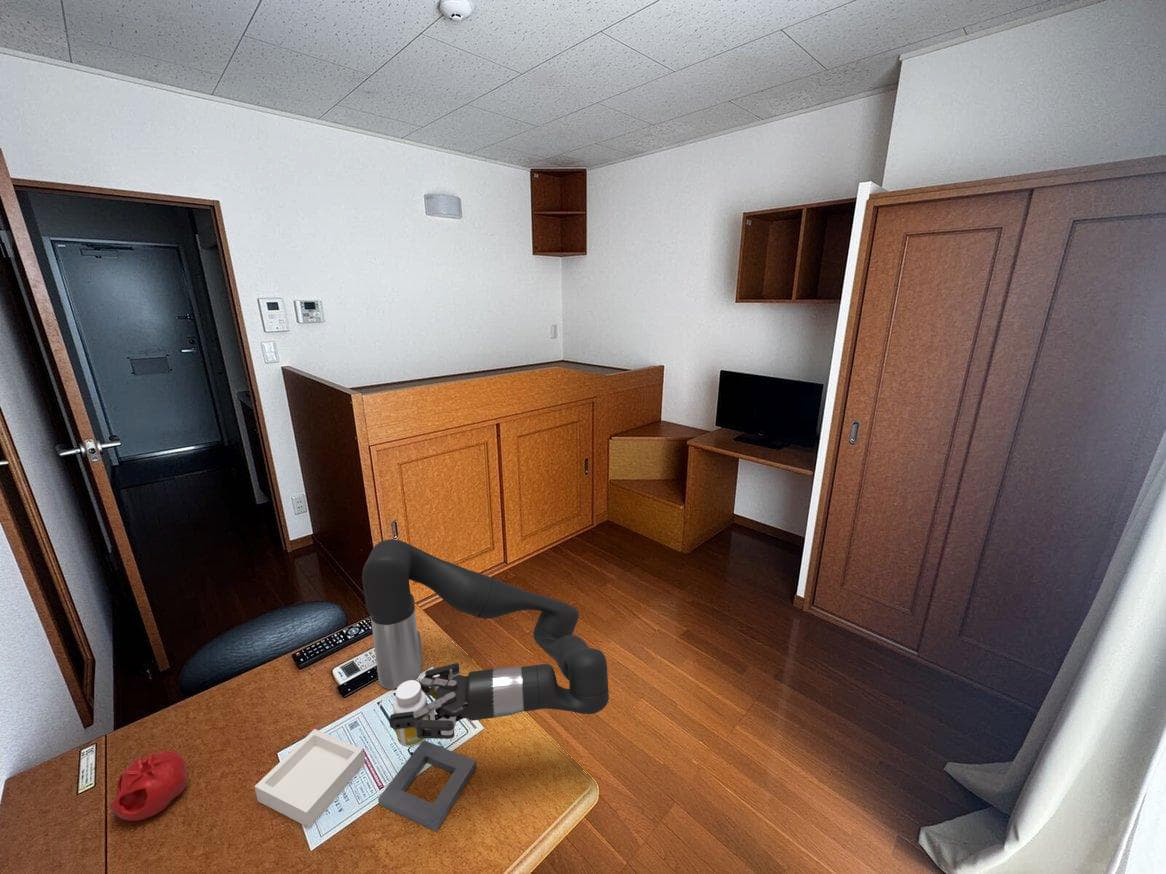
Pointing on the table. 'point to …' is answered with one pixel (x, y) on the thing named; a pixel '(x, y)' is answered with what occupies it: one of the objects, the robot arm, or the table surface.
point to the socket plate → (437, 811)
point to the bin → (310, 777)
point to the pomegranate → (149, 785)
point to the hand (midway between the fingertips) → (394, 705)
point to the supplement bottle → (409, 710)
